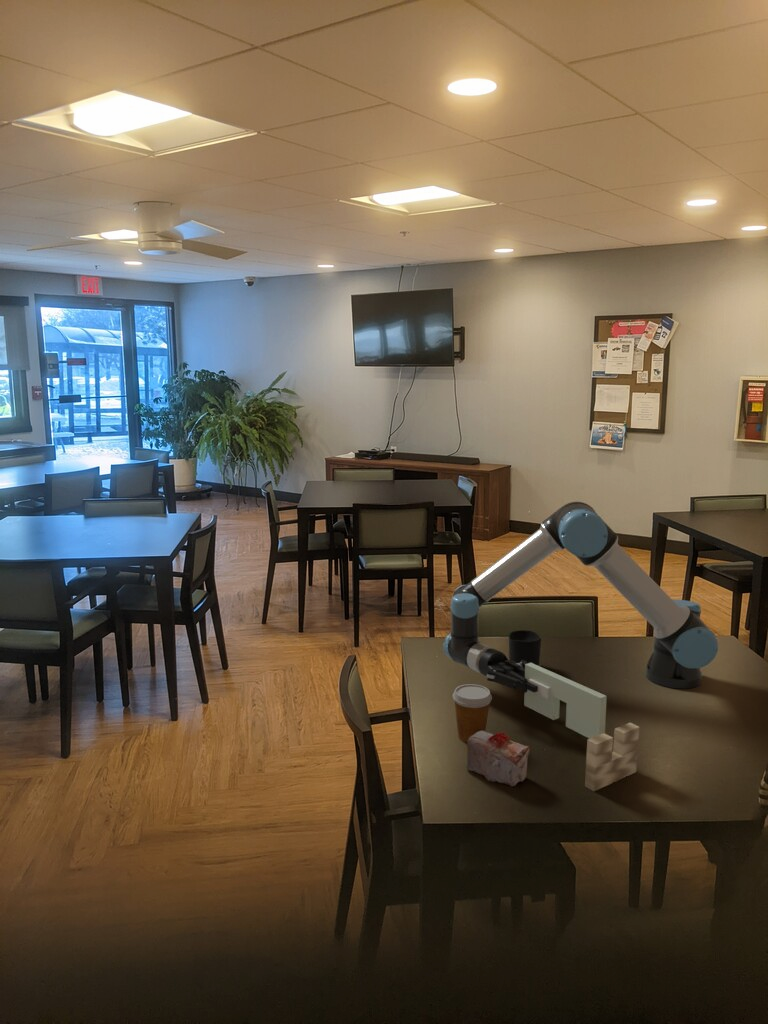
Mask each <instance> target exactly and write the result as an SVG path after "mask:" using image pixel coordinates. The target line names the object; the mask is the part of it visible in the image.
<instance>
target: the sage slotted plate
mask: <svg viewBox="0 0 768 1024" xmlns="http://www.w3.org/2000/svg"><path fill="white" fill-rule="evenodd" d="M525 678H526V679H527V681H528V682H529V679H532V680H534V681H537V682H539V683H541V684H543V685H545V686H547V687H549V688H550V698H549V699H547V698H545V697H542V696H540V695H538V694H536V693H534V692H532V691H530V690H527V692H526V693H524V692H523V693H524V694H523V695H524V697H523V701H524V702H523V705H524V707H526V708H528V709H531V710H533V711H535V712H537V713H538V714H541V715H543V717H544V716H545V717H547V718H548V719H551V720H552V721H555V720H558V719H559V718H560V706H561V705H560V704H561V703H560V702H561V701H562V702H563V703H566V704H565V705H566V706H565V707H566V708H565V709H566V710H565V712H566V713H565V727H566V728H568V729H570V730H572V731H574V732H576V733H577V734H579V735H581V736H583V737H585V738H587V739H590V738H593V737H595V736H598V735H600V734H603V733H605V734H606V717H607V715H606V714H607V699H608V698H607V695H605V694H603V693H600V692H599V691H596V690H594V689H592V688H590V687H588V686H584V685H582V684H581V683H578V682H576V681H574V680H572V679H569V678H567V677H565V676H562V675H560V674H558V673H556V672H553V671H551V670H548V668H547V669H546V668H544V667H541V666H540V665H539V666H538V665H535V664H533V663H528V664H525Z"/></svg>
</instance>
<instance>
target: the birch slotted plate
mask: <svg viewBox="0 0 768 1024" xmlns="http://www.w3.org/2000/svg"><path fill="white" fill-rule="evenodd" d="M613 730H614V732H613V736H610V735H609V734H607V733H606V732H605V733H603V734H600V735H598V736H595V737H593V738H590V739H589V738H587V740H586V741H587V742H586V743H587V744H586V759H585V779H584V787H585V788H587V789H588V790H590V791H592V792H596V791H598V790H600V789H602V788H604V787H607V786H609V785H611V784H614V783H615V782H616V783H617V782H618V781H619V780H622V779H624V778H626V776H627V777H628V776H631V775H633V774H635V773H637V766H638V764H637V763H638V752H639V751H638V750H639V737H640V726H639V725H636V724H634V723H632V722H628V723H625V724H623V725H620V726H619V727H615V728H614V729H613ZM613 782H614V783H613Z"/></svg>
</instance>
